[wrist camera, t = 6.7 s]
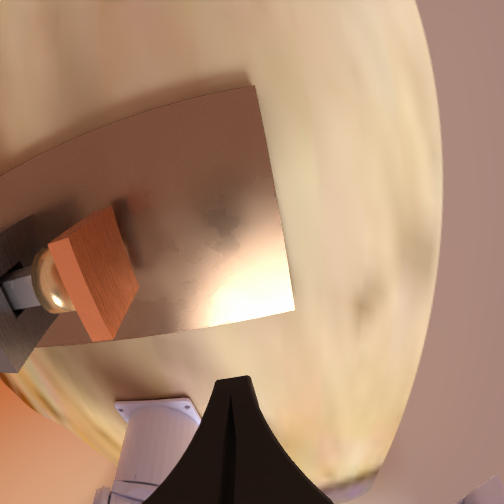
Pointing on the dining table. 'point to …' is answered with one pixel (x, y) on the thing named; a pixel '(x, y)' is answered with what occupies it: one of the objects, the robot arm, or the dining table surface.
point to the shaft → (79, 276)
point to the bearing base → (156, 220)
